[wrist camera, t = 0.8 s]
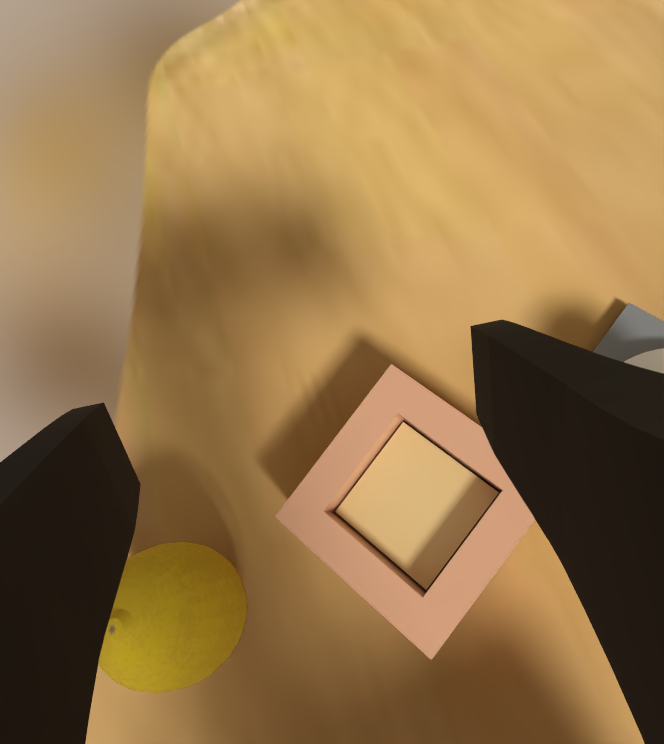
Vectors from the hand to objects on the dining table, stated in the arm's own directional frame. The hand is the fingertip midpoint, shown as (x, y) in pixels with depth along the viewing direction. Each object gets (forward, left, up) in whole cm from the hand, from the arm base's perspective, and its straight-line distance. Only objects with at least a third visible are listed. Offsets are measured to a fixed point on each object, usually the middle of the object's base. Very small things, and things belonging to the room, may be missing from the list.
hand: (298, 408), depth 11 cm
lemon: (+4, +10, -16) cm, 19 cm away
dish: (-1, +1, -16) cm, 16 cm away
